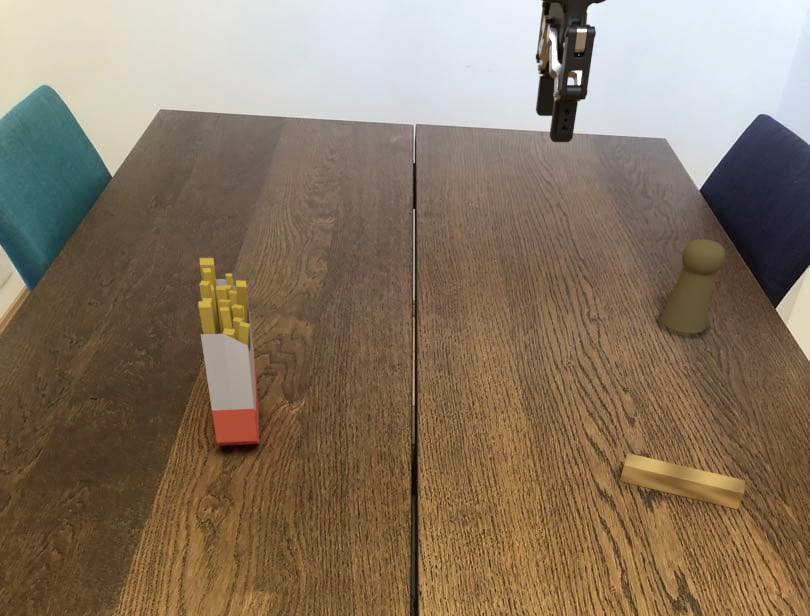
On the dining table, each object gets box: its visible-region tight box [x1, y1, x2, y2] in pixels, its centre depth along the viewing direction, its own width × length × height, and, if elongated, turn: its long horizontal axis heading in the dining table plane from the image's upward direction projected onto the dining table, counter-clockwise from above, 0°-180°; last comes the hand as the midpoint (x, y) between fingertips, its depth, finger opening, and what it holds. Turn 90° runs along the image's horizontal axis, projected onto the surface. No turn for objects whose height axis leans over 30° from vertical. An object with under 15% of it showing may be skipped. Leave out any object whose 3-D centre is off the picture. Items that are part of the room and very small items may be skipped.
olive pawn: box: [660, 238, 726, 334], centre depth 107 cm, size 6×6×11 cm
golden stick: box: [619, 452, 746, 510], centre depth 84 cm, size 12×2×2 cm, turn 71°
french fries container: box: [197, 257, 260, 447], centre depth 83 cm, size 5×11×18 cm, turn 8°
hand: (552, 127), depth 85 cm, fingers open, 8 cm apart
